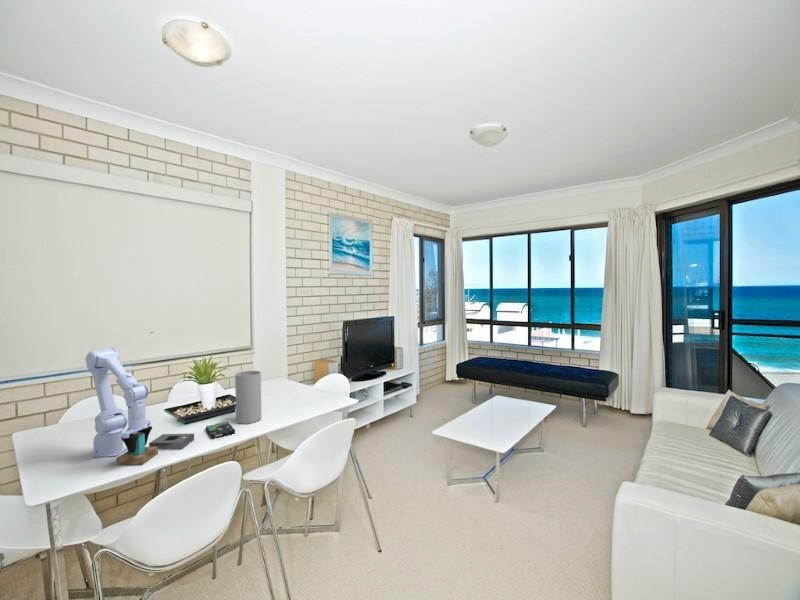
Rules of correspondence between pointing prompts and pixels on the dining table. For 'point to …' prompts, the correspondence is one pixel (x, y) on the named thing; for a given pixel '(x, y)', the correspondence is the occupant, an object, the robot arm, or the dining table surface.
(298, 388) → the dining table surface
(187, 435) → the port block
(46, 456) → the dining table surface
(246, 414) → the cylinder vase
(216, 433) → the disk drive
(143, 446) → the plug
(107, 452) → the robot arm
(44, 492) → the dining table surface
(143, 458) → the tan square ring
